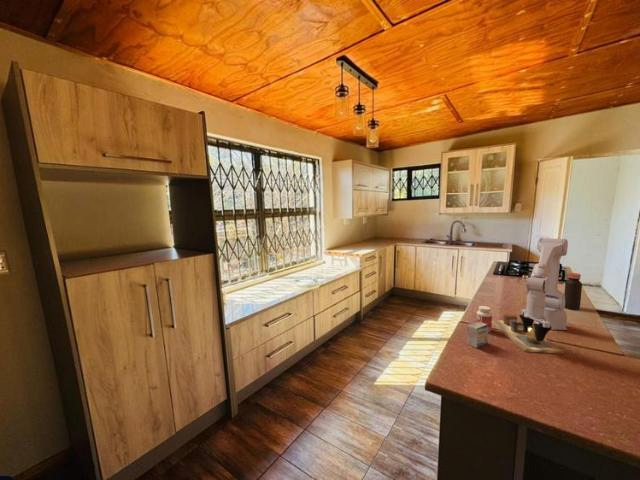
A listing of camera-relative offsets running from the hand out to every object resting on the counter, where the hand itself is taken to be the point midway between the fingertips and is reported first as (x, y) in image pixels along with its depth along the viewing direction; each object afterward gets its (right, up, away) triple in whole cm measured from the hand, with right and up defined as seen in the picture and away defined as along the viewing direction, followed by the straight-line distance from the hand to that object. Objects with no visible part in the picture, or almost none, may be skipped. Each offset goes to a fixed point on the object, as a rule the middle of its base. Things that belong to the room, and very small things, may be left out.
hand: (533, 336), depth 110 cm
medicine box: (-23, -4, +2) cm, 23 cm away
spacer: (0, -2, 0) cm, 2 cm away
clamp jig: (+1, -3, +8) cm, 8 cm away
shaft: (+2, -1, +14) cm, 14 cm away
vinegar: (+52, +2, +37) cm, 63 cm away
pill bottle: (-12, -3, +15) cm, 19 cm away
